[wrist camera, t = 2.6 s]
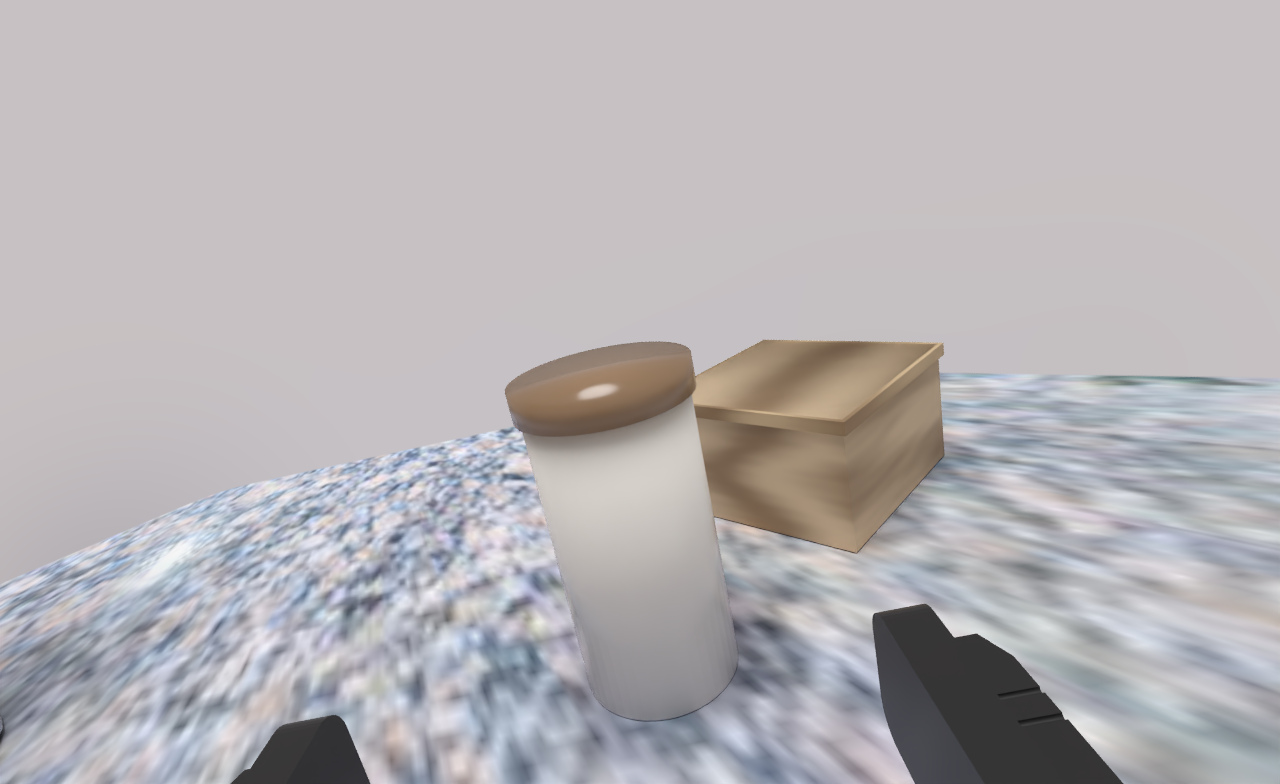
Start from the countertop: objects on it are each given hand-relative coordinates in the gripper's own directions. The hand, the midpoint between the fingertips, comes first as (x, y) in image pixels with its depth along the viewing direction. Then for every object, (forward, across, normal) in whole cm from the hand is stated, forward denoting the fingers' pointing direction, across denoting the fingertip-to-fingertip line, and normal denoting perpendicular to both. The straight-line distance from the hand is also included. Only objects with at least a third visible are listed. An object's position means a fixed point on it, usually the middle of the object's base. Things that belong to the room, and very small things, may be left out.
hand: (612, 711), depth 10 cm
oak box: (+23, -8, +8) cm, 26 cm away
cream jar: (+12, 0, +9) cm, 14 cm away
